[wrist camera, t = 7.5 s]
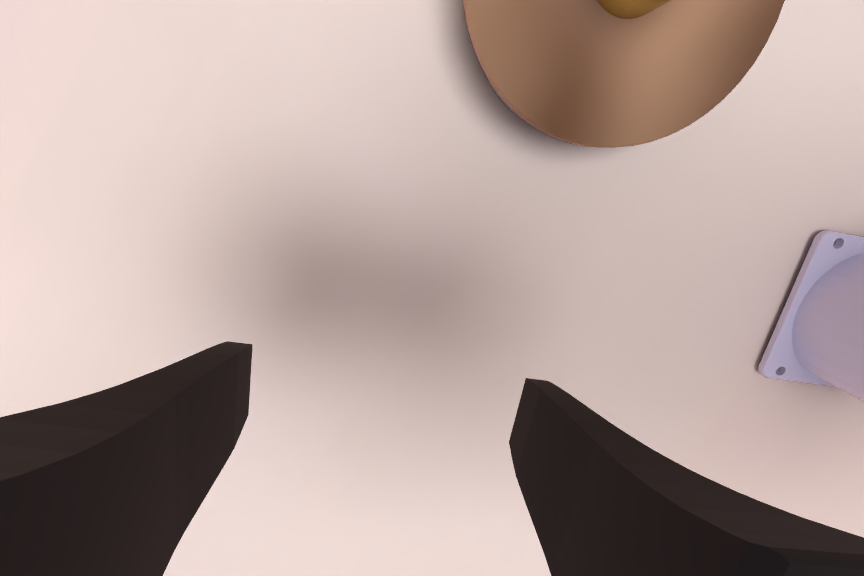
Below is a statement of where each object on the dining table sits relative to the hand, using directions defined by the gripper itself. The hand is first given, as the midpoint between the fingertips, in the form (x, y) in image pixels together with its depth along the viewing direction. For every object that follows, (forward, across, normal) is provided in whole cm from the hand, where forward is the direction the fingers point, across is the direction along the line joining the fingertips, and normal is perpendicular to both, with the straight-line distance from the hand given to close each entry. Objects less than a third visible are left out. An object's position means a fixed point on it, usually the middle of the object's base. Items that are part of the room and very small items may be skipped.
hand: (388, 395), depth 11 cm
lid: (+7, -6, -13) cm, 16 cm away
